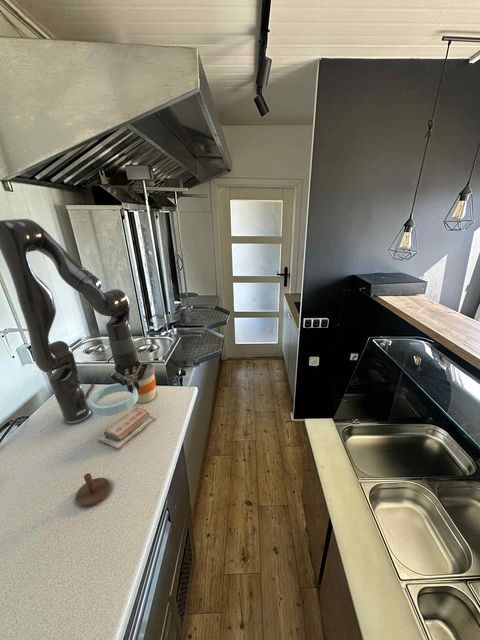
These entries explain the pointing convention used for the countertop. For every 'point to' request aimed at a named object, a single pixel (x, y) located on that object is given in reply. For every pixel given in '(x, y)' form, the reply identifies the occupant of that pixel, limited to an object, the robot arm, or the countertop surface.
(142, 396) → the reusable coffee cup
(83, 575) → the countertop surface
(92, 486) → the ring stand
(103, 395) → the ring
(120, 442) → the packaged product
